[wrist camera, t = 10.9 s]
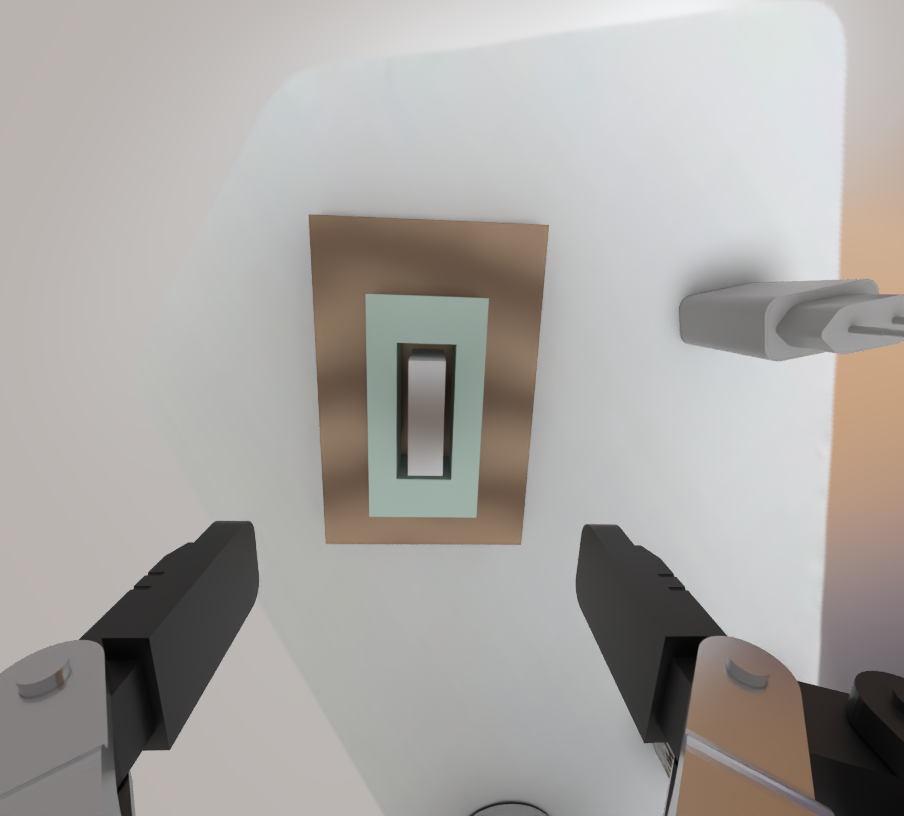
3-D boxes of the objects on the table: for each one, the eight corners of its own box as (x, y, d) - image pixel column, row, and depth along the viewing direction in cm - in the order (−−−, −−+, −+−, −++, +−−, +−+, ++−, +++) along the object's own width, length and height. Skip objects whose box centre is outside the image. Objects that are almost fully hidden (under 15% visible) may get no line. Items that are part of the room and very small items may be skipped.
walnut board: (515, 528, 30) (537, 589, 24) (332, 527, 30) (305, 590, 23) (540, 230, 25) (575, 209, 19) (318, 220, 24) (278, 195, 18)
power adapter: (678, 297, 26) (869, 301, 15) (763, 280, 26) (1021, 270, 15) (680, 346, 27) (863, 385, 16) (763, 329, 27) (1007, 356, 16)
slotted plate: (471, 489, 27) (476, 517, 24) (377, 488, 27) (369, 516, 23) (481, 297, 24) (489, 298, 21) (375, 293, 24) (365, 293, 20)
